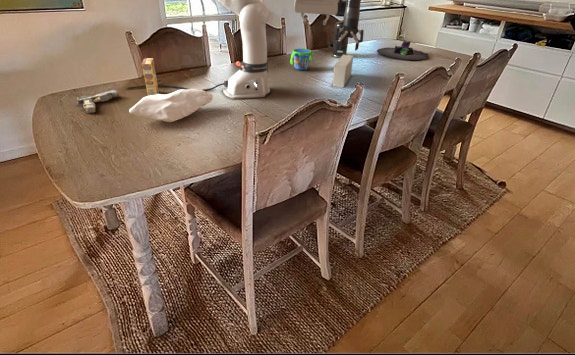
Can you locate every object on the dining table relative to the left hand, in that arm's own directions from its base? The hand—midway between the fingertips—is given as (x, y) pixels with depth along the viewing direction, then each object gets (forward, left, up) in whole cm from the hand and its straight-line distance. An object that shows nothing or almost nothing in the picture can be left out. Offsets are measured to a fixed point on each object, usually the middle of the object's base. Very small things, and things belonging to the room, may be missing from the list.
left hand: (314, 24), depth 170 cm
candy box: (-75, +14, -30) cm, 82 cm away
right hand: (+26, +6, -15) cm, 30 cm away
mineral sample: (+93, +35, -30) cm, 103 cm away
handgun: (-97, +11, -30) cm, 102 cm away
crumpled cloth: (-72, -11, -30) cm, 78 cm away
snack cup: (+10, +28, -30) cm, 42 cm away
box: (+21, +1, -30) cm, 36 cm away
